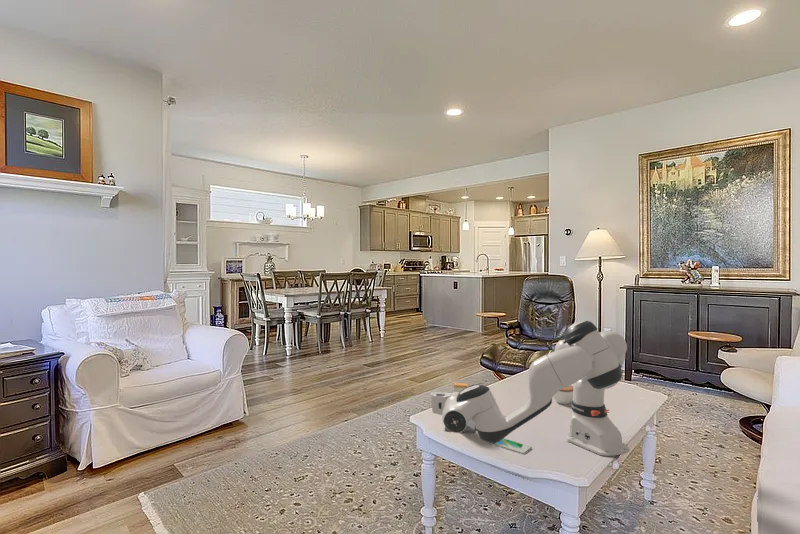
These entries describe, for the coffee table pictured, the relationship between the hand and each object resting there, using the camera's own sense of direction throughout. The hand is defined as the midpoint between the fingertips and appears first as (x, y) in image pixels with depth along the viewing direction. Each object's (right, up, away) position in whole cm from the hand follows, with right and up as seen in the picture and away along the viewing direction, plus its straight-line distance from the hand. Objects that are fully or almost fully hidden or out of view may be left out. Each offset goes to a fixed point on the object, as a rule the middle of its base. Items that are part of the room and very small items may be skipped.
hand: (458, 394), depth 163 cm
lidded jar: (+58, -19, +50) cm, 79 cm away
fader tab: (+2, -17, +15) cm, 23 cm away
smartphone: (+19, -20, -1) cm, 27 cm away
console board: (+4, -18, +21) cm, 28 cm away
